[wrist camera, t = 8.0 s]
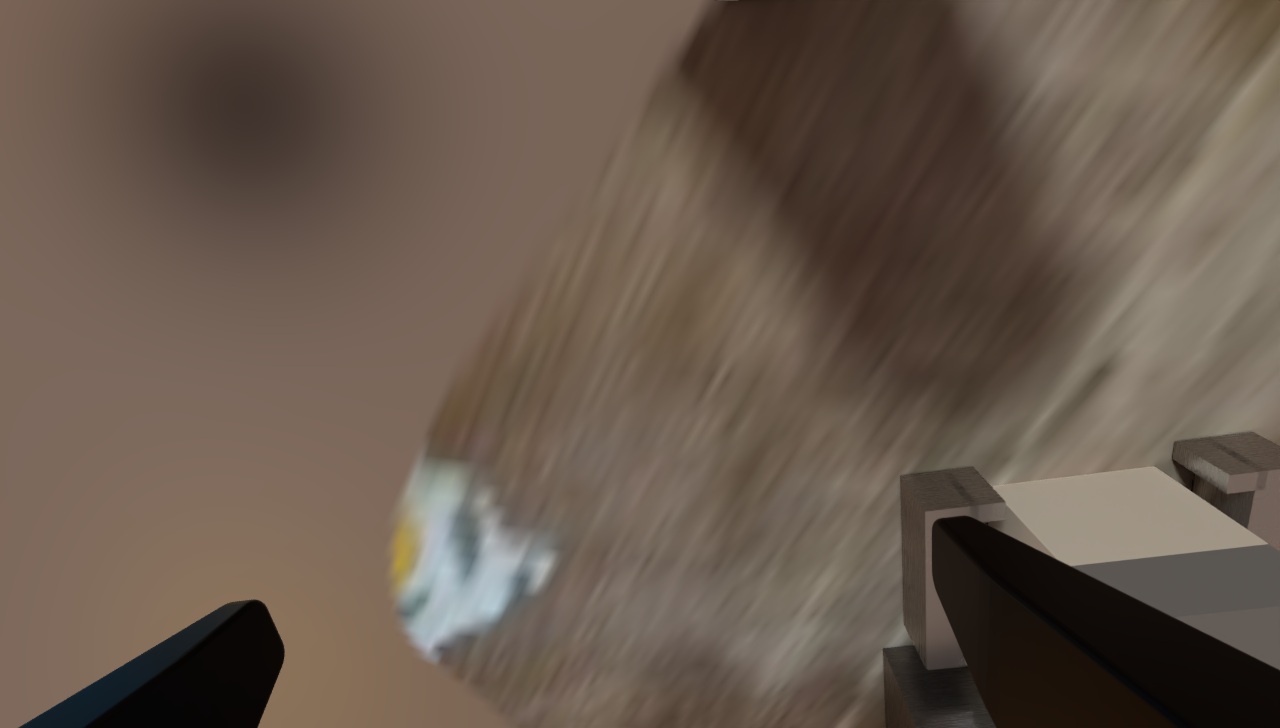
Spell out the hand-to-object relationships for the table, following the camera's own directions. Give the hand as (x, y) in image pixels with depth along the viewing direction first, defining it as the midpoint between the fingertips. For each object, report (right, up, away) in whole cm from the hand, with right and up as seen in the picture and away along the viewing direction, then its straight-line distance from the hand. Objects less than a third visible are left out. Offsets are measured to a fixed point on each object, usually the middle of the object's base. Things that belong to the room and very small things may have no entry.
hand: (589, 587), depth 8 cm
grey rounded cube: (+15, -3, +13) cm, 20 cm away
